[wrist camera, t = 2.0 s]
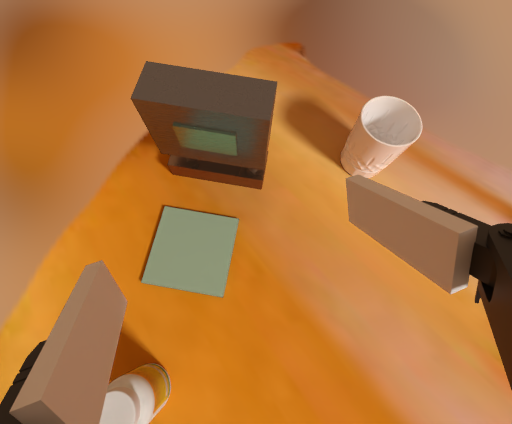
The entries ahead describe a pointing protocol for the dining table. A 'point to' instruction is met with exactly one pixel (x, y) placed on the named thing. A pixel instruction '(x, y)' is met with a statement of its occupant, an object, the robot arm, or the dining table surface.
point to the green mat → (191, 251)
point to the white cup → (380, 135)
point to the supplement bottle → (136, 396)
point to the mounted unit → (208, 121)
